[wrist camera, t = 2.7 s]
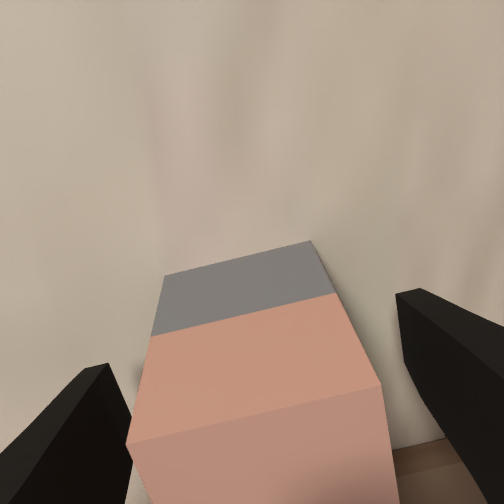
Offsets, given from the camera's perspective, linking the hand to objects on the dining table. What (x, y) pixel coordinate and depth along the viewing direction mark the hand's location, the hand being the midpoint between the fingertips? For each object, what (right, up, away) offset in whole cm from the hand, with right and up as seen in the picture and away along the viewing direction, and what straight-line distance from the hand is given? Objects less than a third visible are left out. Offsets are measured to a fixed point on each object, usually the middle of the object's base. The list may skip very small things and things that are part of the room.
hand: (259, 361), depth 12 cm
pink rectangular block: (0, +1, +2) cm, 2 cm away
